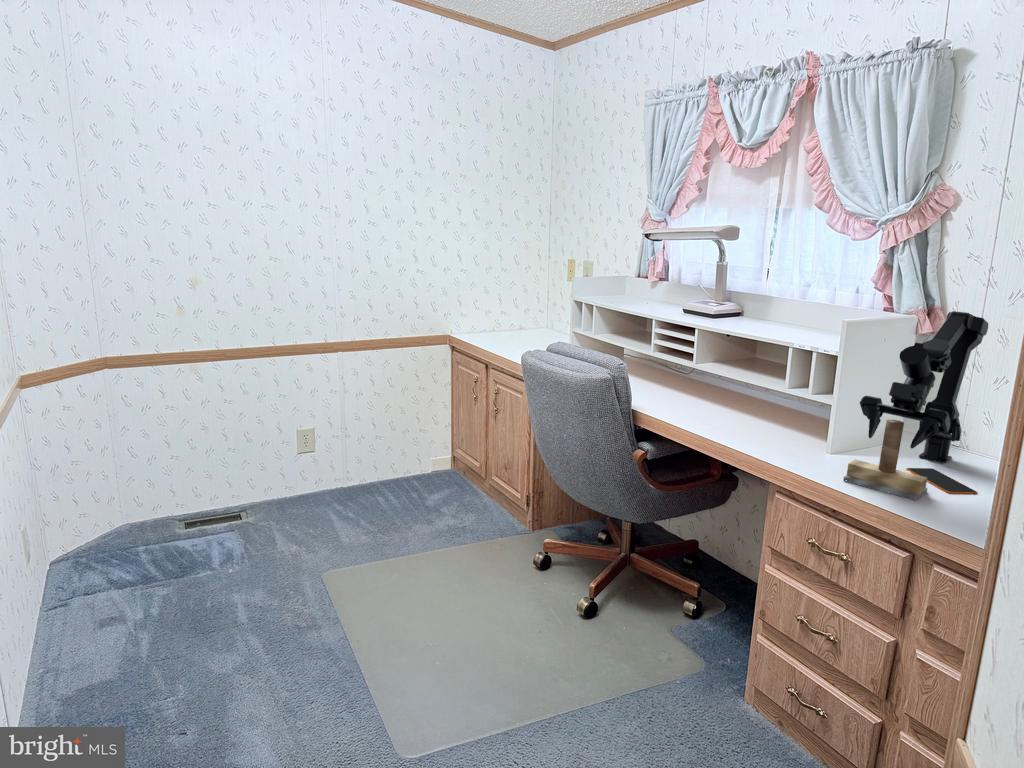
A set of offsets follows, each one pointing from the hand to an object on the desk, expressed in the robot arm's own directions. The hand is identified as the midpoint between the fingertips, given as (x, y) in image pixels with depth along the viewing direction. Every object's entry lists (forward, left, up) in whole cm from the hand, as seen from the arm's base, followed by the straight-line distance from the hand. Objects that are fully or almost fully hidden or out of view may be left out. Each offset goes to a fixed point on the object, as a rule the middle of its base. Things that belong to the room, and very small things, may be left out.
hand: (890, 442), depth 159 cm
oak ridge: (-1, 0, -11) cm, 11 cm away
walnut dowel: (-1, 0, -7) cm, 7 cm away
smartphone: (-16, +8, -12) cm, 21 cm away
